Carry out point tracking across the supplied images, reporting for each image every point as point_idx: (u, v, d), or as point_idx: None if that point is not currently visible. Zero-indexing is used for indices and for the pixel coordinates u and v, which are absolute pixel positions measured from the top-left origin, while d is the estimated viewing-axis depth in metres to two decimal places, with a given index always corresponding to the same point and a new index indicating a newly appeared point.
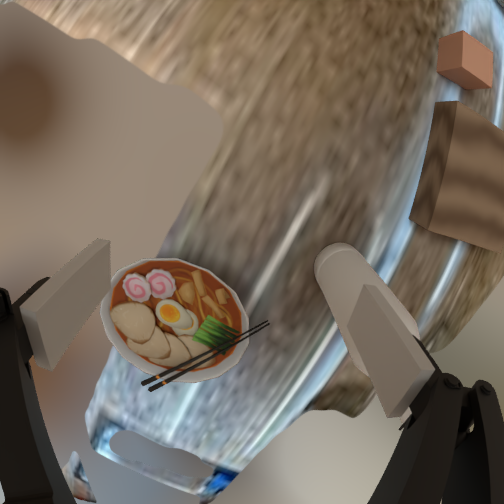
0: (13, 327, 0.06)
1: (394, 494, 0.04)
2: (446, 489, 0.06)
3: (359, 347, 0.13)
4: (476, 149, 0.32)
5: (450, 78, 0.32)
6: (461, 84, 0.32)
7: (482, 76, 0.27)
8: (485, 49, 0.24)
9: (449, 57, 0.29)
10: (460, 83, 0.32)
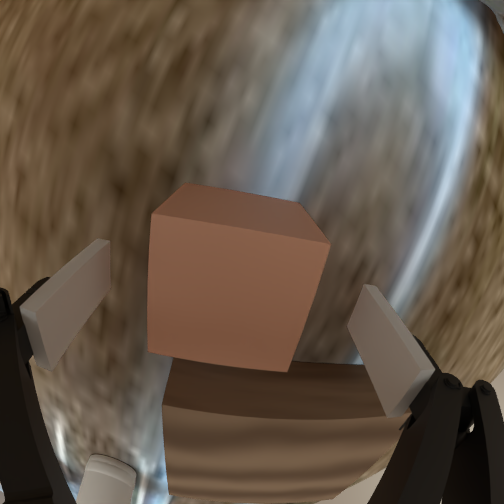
0: (13, 327, 0.06)
1: (394, 494, 0.04)
2: (446, 489, 0.06)
3: (359, 347, 0.13)
4: (234, 453, 0.19)
5: None
6: None
7: (244, 356, 0.13)
8: (281, 249, 0.11)
9: None
10: None
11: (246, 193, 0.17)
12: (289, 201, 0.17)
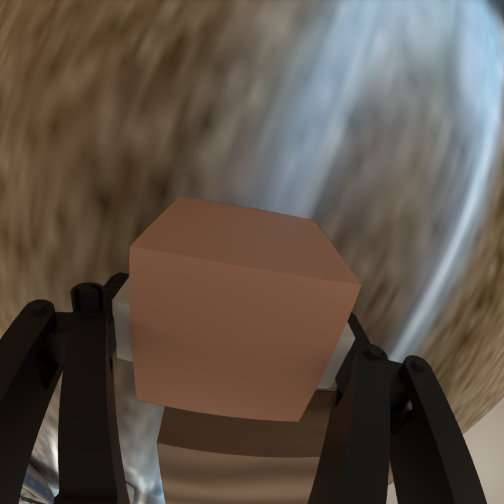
0: (105, 324, 0.08)
1: (334, 482, 0.05)
2: (396, 475, 0.07)
3: None
4: (236, 486, 0.16)
5: None
6: None
7: (249, 407, 0.11)
8: (299, 292, 0.09)
9: None
10: None
11: (252, 209, 0.15)
12: (303, 219, 0.15)
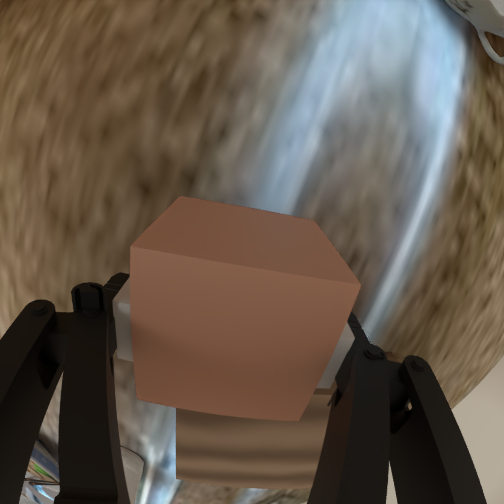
0: (105, 324, 0.08)
1: (333, 482, 0.05)
2: (396, 475, 0.07)
3: None
4: (240, 429, 0.22)
5: None
6: None
7: (249, 407, 0.11)
8: (299, 292, 0.09)
9: None
10: None
11: (252, 209, 0.15)
12: (302, 219, 0.15)
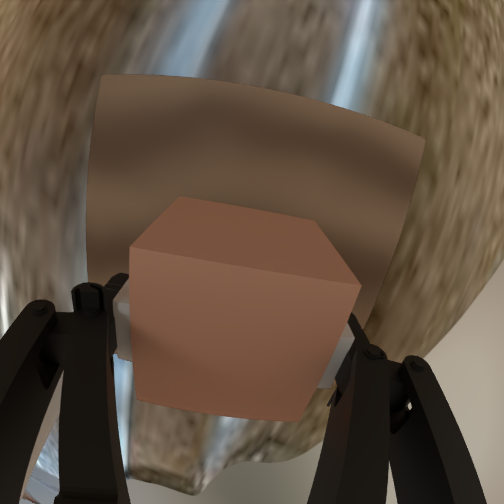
0: (105, 324, 0.08)
1: (333, 482, 0.05)
2: (396, 475, 0.07)
3: None
4: (172, 174, 0.16)
5: None
6: None
7: (249, 407, 0.11)
8: (299, 293, 0.09)
9: None
10: None
11: (252, 210, 0.15)
12: (302, 219, 0.15)
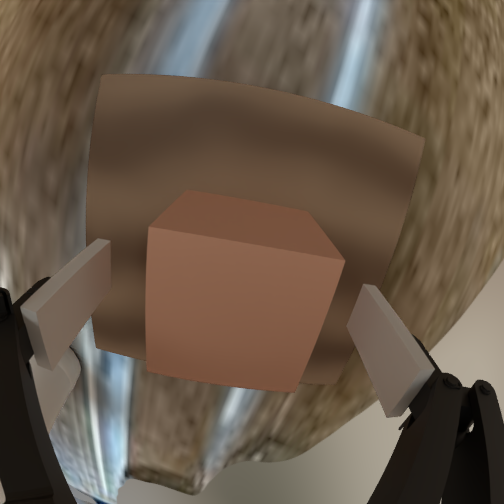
0: (14, 327, 0.06)
1: (394, 493, 0.04)
2: (445, 489, 0.06)
3: (359, 347, 0.13)
4: (171, 174, 0.16)
5: None
6: None
7: (249, 376, 0.12)
8: (291, 266, 0.10)
9: None
10: None
11: (251, 201, 0.16)
12: (297, 210, 0.16)
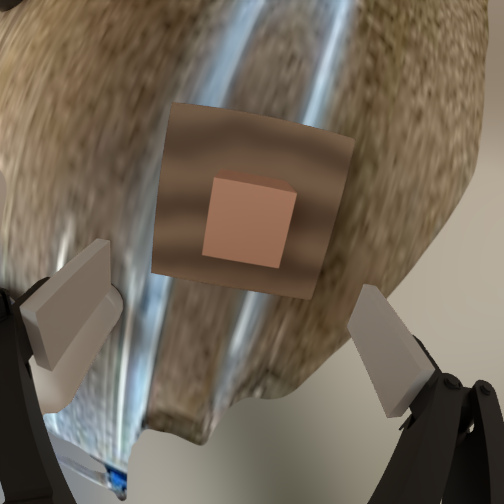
0: (13, 327, 0.06)
1: (394, 494, 0.04)
2: (446, 489, 0.06)
3: (359, 347, 0.13)
4: (213, 160, 0.30)
5: None
6: None
7: (255, 255, 0.26)
8: (273, 195, 0.24)
9: None
10: None
11: (256, 175, 0.30)
12: (280, 180, 0.30)
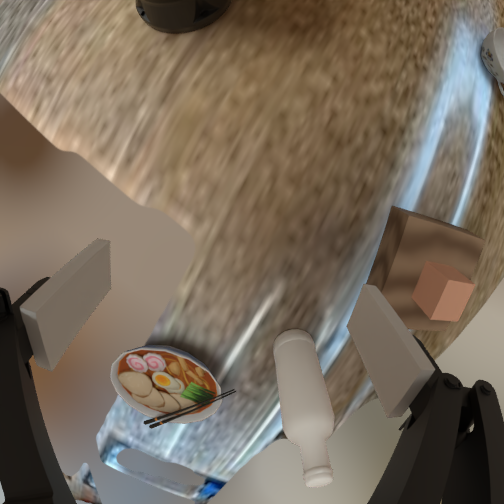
0: (13, 327, 0.06)
1: (394, 494, 0.04)
2: (445, 489, 0.06)
3: (359, 347, 0.13)
4: (423, 255, 0.42)
5: None
6: None
7: (451, 316, 0.39)
8: (467, 286, 0.37)
9: (426, 297, 0.41)
10: None
11: (441, 264, 0.43)
12: (451, 266, 0.43)
